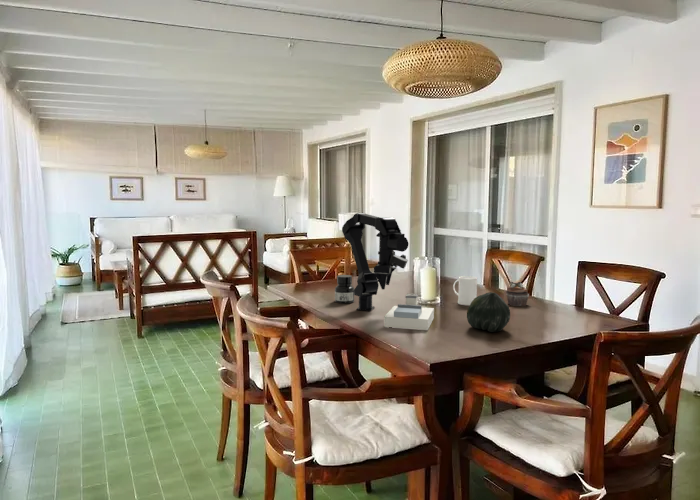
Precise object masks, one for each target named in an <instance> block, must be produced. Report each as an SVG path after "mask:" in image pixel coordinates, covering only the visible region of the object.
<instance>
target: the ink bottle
mask: <svg viewBox="0 0 700 500" xmlns="http://www.w3.org/2000/svg"><path fill="white" fill-rule="evenodd" d="M336 282H337V283H336V284H337V285H336V286H335V288H334V302H335V303H336V304H353V303H354V302H355V295H354V289H355V288H354V286H353V285H352V283H353V276H352V274H351V275H350V274H339V275H337V276H336Z"/></svg>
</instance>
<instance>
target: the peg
mask: <svg viewBox="0 0 700 500" xmlns="http://www.w3.org/2000/svg"><path fill="white" fill-rule="evenodd" d="M418 297H419V294H418V293H407V294H406V295H405V304H406V305H419V303H418Z"/></svg>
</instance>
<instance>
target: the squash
mask: <svg viewBox="0 0 700 500" xmlns="http://www.w3.org/2000/svg"><path fill="white" fill-rule="evenodd" d="M510 319H511V309H510V308H509V304H508V303H506V302H505V300H504V299H503V298H502V297H501V296H500V295H499V294H498V293H496V292H494V291H490V292H486V293H483V294H479V295H477V297H476V298H475V299H474V300H473V301H472V302H471V304H470V305H468V308H467V310H466V320H467V322H468V324H469V326H471V327H472V328H474V329H478V330H481V329H482V330H483V331H486V330H487V331H488V332H490V333H494V332H495V333H497V332H501V331H502V330H503V329H504V328H505V327H506V326H507V325H508V323H509V322H510Z"/></svg>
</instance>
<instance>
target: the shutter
mask: <svg viewBox="0 0 700 500" xmlns="http://www.w3.org/2000/svg"><path fill="white" fill-rule="evenodd" d="M397 306H398V307H397V308H396V310H395V311H394V317H404V318H419V316H420V315H421V313H422V307H423V306H422V305H421V304H418V305H406V303H404V304H402V303H398V304H397Z"/></svg>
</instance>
